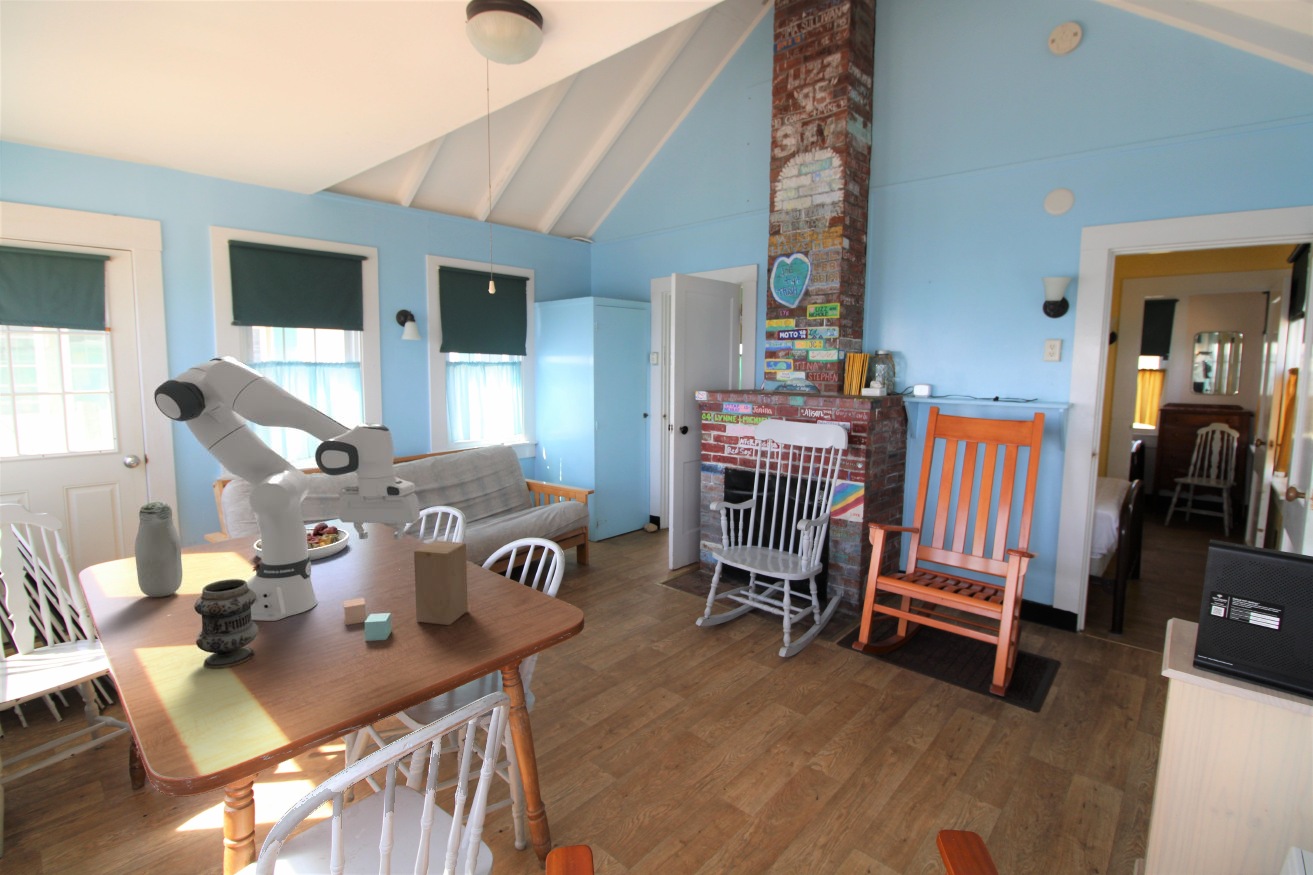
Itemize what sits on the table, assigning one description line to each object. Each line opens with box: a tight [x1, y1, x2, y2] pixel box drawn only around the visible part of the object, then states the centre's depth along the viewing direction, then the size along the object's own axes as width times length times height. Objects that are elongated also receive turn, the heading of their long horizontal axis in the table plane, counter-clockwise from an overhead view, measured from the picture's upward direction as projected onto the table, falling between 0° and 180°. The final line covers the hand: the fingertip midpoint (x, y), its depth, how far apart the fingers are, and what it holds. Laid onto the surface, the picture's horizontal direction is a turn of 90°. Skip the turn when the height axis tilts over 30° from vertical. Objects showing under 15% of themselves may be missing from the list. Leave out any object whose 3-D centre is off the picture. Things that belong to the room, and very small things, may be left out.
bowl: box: [253, 522, 350, 562], centre depth 223 cm, size 30×30×8 cm
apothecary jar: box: [193, 578, 259, 669], centre depth 143 cm, size 12×12×18 cm
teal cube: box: [364, 612, 393, 642], centre depth 157 cm, size 5×5×5 cm
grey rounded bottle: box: [134, 501, 183, 598], centre depth 180 cm, size 10×10×28 cm
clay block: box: [343, 597, 367, 626], centre depth 166 cm, size 5×5×5 cm
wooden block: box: [413, 540, 469, 626], centre depth 168 cm, size 10×10×20 cm
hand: (381, 538), depth 159 cm, fingers open, 8 cm apart
